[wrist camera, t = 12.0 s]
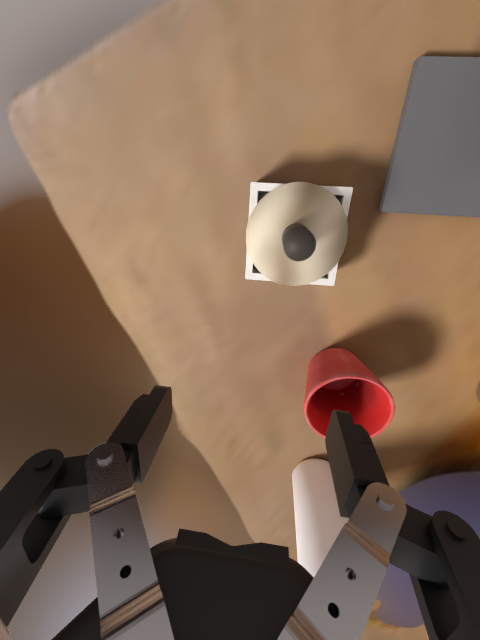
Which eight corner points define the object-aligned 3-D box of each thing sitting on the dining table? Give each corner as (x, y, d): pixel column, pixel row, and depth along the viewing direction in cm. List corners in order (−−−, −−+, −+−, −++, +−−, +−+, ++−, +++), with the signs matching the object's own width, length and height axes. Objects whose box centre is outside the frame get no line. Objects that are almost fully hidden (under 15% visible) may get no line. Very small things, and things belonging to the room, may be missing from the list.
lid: (355, 184, 28) (374, 182, 23) (336, 286, 33) (348, 304, 28) (249, 180, 29) (243, 177, 24) (244, 280, 34) (239, 296, 29)
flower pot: (329, 324, 40) (345, 360, 32) (385, 363, 42) (415, 408, 33) (284, 371, 45) (287, 415, 36) (336, 405, 46) (351, 455, 38)
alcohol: (283, 475, 55) (292, 752, 28) (309, 449, 51) (348, 739, 24) (320, 493, 56) (365, 778, 29) (348, 469, 52) (430, 769, 25)
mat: (588, 64, 27) (601, 58, 25) (519, 219, 32) (528, 220, 31) (414, 61, 28) (419, 56, 27) (378, 211, 34) (381, 211, 33)
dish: (342, 188, 33) (353, 187, 29) (326, 274, 38) (333, 285, 33) (253, 183, 34) (250, 182, 29) (248, 268, 38) (245, 278, 34)
